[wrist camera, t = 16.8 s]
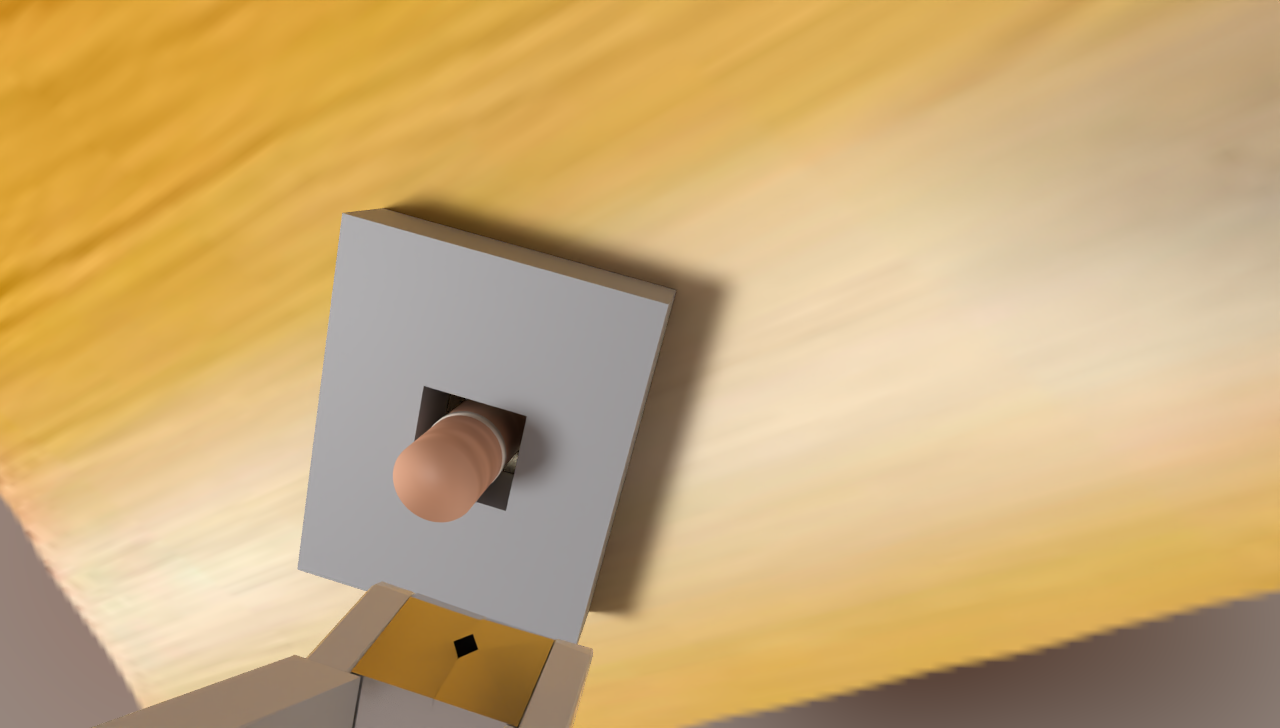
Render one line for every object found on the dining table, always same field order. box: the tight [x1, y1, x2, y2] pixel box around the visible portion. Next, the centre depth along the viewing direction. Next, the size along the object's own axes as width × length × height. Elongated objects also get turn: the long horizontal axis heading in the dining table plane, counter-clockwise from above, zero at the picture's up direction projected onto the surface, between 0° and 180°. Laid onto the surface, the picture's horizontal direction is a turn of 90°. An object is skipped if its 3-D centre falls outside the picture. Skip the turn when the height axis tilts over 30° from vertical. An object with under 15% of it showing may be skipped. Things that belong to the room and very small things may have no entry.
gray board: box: [298, 208, 676, 644], centre depth 38 cm, size 16×20×4 cm
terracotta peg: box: [393, 399, 527, 522], centre depth 36 cm, size 4×4×8 cm
